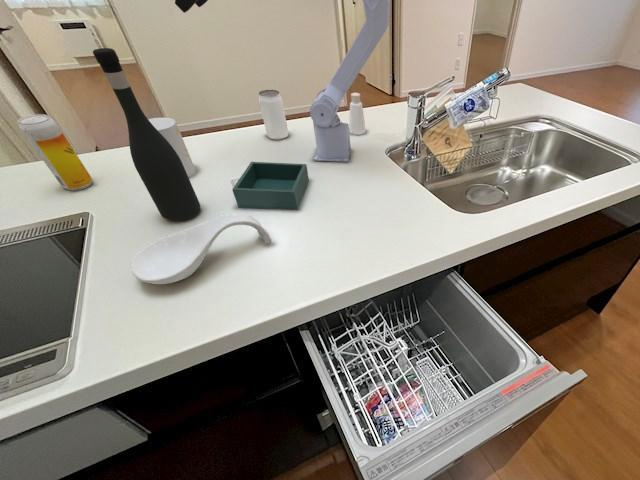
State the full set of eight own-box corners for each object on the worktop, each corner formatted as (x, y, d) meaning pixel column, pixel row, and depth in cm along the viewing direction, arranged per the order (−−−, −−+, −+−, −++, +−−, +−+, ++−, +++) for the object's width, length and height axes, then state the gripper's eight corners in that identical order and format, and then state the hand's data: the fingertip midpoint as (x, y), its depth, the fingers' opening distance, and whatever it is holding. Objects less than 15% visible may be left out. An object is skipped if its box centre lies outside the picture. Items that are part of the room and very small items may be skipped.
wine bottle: (158, 210, 77) (70, 46, 55) (196, 199, 80) (126, 42, 59) (167, 227, 73) (75, 58, 51) (206, 216, 76) (136, 52, 54)
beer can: (100, 182, 84) (58, 116, 73) (77, 193, 80) (29, 126, 69) (81, 177, 85) (37, 111, 75) (57, 188, 81) (7, 121, 71)
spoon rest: (149, 304, 58) (126, 272, 53) (133, 267, 64) (111, 235, 59) (280, 251, 69) (272, 221, 64) (255, 224, 75) (246, 194, 70)
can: (291, 132, 109) (283, 89, 100) (285, 140, 105) (276, 97, 96) (271, 131, 109) (262, 88, 101) (264, 139, 105) (253, 95, 96)
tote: (309, 180, 89) (306, 163, 85) (297, 209, 79) (294, 192, 76) (255, 178, 88) (251, 161, 85) (238, 207, 79) (232, 189, 76)
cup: (201, 173, 89) (181, 124, 80) (169, 184, 85) (144, 133, 76) (187, 162, 93) (166, 114, 84) (155, 172, 88) (130, 123, 80)
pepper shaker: (345, 132, 111) (342, 94, 103) (355, 127, 114) (353, 89, 106) (359, 136, 109) (357, 97, 101) (369, 131, 112) (368, 93, 104)
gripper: (215, -74, 72) (184, -18, 78) (185, -74, 62) (152, -10, 68) (245, -37, 76) (213, 13, 82) (221, -32, 66) (187, 25, 72)
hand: (187, 5), depth 75 cm, fingers open, 7 cm apart
